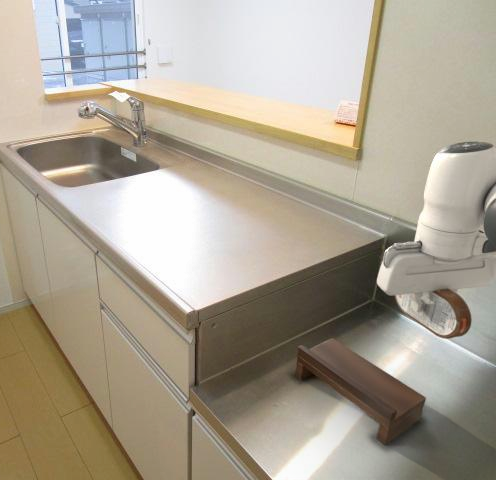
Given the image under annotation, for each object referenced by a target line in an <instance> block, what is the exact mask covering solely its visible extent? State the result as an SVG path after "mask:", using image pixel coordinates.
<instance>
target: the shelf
mask: <svg viewBox="0 0 496 480" xmlns="http://www.w3.org/2000/svg"><path fill="white" fill-rule="evenodd" d="M294 373H295V375H294V376H295V377H296V378H298V379H299V380H300V381H302V380H304V379H305V378H308V377H310V376H312V375H315V376H316V377H317V378H318V379H320V380H321V381H322V382H324V383H325V384H326V385H328V386H329V387H330V388H332V389H333V390H335V391H336V392H337V393H339V394H340V395H342V396H343V397H344V398H346V399H347V400H348V401H350V402H351V403H352V404H354V405H355V406H356V407H358V408H359V409H360V410H362V411H363V412H365V413H366V414H367V415H368V416H370V417H371V418H373V420H375V421H376V422H378V423H379V426H378V430H377V435H376V440H377V441H379V442H380V444H382V445H384V446H385V445H387V444H389V443H391V442H392V440H394V439H396V438H397V437H398V436H399V435H401V434H402V433H404V432H405V431H406V430H408V429H409V428H411V427H412V426H414V425H415V424H416V423H418V422H419V421H420V420H421V418H422V415H423V411H424V408H425V403H426V399H427V397H426V396H424V395H423V394H421V393H420V392H418V391H417V390H415V389H413V388H412V387H410V386H409V385H407V384H405V383H404V382H403V381H400V380H399V379H398V378H396V377H394V376H393V375H391V374H390V373H388V372H386V371H385V370H384V369H382V368H380V366H377V365H376V364H374V363H372V362H371V361H369V360H368V359H367V358H364V357H362V356H361V355H360V354H358V353H356V352H355V351H353V350H352V349H350V348H349V347H347V346H345V345H344V344H343V343H340V342H339V341H337V340H336V339H334V337H331V338H330V339H328V340H326V341H325V340H324V342H321V343H319V344H318V345H315V346H314V347H311V348H308V347H307V346H306V345H303V344H302V345H300V346H298V348H297V356H296V363H295V372H294Z"/></svg>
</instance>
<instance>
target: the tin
mask: <svg viewBox="0 0 496 480" xmlns="http://www.w3.org/2000/svg"><path fill="white" fill-rule="evenodd" d="M393 296H394V299H395V302H396V304H397V306H398V308H399V309H400V310H401V311H402V312H403V314H405V315H406V316H408V317H409V318H411V319H412V320H413V321H415V322H416V323H418V324H419V325H420V326H422V327H424V328H425V330H428V331H429V332H430V333H432V334H433V335H435V336H436V337H439V338H441V339H444V340H445V339H453V338H460V337H463V336H465V335H466V334H467V333H468V332H469V331H470V329H471V327H472V321H473V320H472V319H473V318H472V313H471V309H470V308H469V305H468V304H467V302H466V301H465V299H464V298H463V297H462V296H461V295H459V294H458V292H457V293H455V292H454V291H452V290H450V289H445V290H436V291H432V292H424V293H423V296H422V297H420V299H421V300H422V302H424V303H426V307H425V311H423V312H415V311H414V310H413V309H412V307H411V306H412V301H413V300H412V298H411V296H410V294H401V295H393Z"/></svg>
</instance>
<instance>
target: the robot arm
mask: <svg viewBox="0 0 496 480" xmlns="http://www.w3.org/2000/svg"><path fill="white" fill-rule="evenodd" d="M423 203H424V204H423V208H422V210H421V212H420V214H419V217H418V221H417V225H416V231H415V236H414V239H413V241H407V242H396V243H393V245H391V246H390V247H388V248H387V249H385V251H384V253H383V257H382V261H381V263H380V264H381V265H380V266H379V271H378V274H377V278H376V284H377V286H378V287H379V288H380V290H381V291H382V292H384V293H385V295H388V296H394V295H401V294H410V296H411V298H412V300H413V301H412V306H411V307H412V309H413V310H414V311H415V312H423V311H425V307H426V303H424V302H422V300H421V299H420V297H422V296H423V293H424V292H432V291H436V290H445V289H450V290H452V291H454V292H455V293H457V294H458V290H461V289H472V288H483V287H489V286H490V285H492V283H494V282H495V281H496V147H495V145H494V144H492V143H489V142H485V141H463V142H457V143H453V144H449V145H446V146H445V147H443V148H441V149H440V150H439V151H438V152H437V153H436V155H435V156H434V158H433V160H432V162H431V164H430V167H429V171H428V174H427V178H426V182H425V185H424V190H423ZM482 225H483V229H482V228H481V226H482Z"/></svg>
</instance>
